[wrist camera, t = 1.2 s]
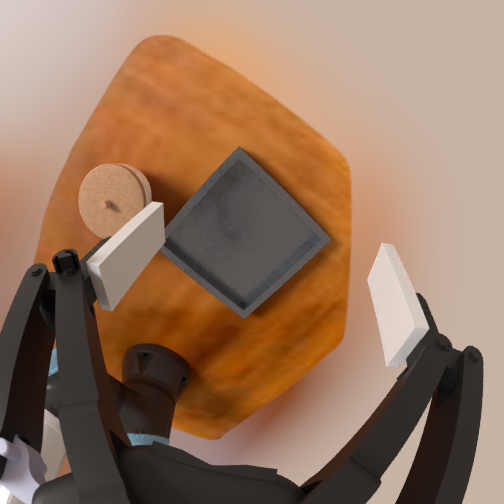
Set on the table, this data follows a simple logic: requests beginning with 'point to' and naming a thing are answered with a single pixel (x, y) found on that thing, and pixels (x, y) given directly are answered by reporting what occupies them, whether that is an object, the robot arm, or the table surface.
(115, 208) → the lidded jar
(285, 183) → the table surface
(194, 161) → the table surface
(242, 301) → the tray
